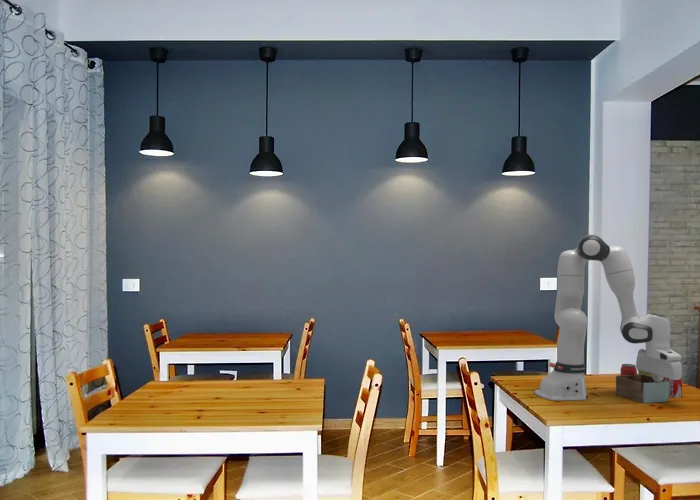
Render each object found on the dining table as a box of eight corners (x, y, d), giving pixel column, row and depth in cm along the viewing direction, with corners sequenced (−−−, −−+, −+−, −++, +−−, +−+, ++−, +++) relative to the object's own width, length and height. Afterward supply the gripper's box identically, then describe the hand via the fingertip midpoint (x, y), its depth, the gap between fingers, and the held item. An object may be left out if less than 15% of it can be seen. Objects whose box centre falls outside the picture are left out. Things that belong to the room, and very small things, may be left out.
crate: (640, 405, 220) (640, 383, 220) (616, 396, 233) (616, 375, 233) (668, 403, 223) (668, 381, 223) (643, 394, 236) (643, 373, 236)
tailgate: (644, 403, 219) (645, 384, 219) (642, 402, 220) (643, 383, 220) (668, 401, 222) (669, 382, 222) (665, 400, 223) (667, 381, 223)
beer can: (622, 392, 239) (622, 366, 240) (618, 389, 246) (618, 363, 246) (638, 393, 238) (638, 366, 238) (634, 390, 244) (634, 363, 244)
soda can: (684, 400, 227) (684, 372, 227) (666, 399, 228) (666, 371, 228) (678, 396, 234) (678, 369, 234) (660, 395, 235) (660, 368, 235)
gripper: (632, 348, 232) (632, 380, 232) (672, 357, 212) (672, 392, 212) (644, 347, 233) (644, 379, 233) (685, 356, 214) (684, 391, 214)
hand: (657, 385), depth 223 cm, fingers closed
